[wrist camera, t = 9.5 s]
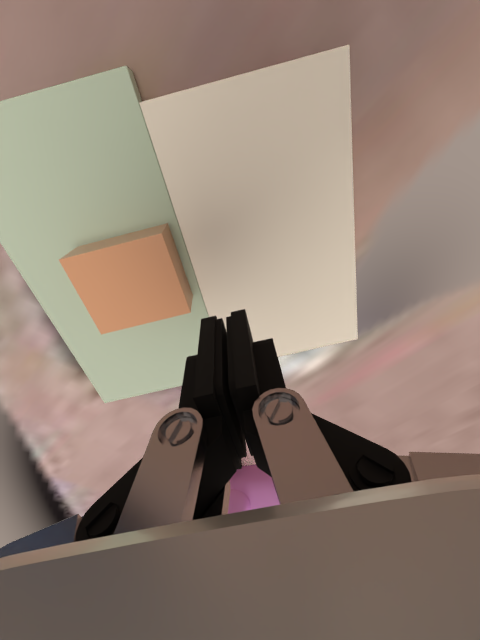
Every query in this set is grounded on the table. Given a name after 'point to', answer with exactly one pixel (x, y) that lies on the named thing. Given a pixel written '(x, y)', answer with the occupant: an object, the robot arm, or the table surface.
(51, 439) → the table surface
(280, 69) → the plate
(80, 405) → the table surface
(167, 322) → the sage mat
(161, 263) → the terracotta tile
